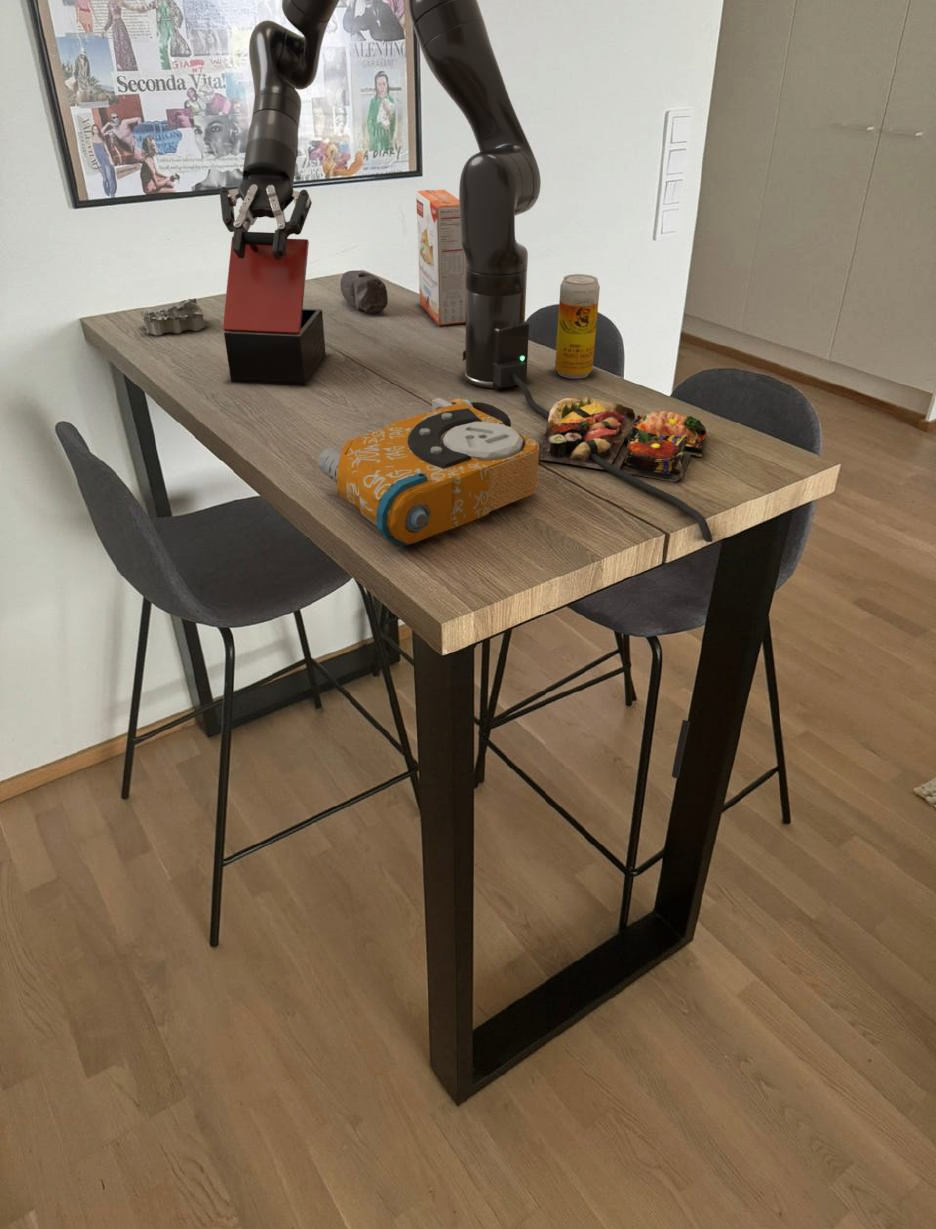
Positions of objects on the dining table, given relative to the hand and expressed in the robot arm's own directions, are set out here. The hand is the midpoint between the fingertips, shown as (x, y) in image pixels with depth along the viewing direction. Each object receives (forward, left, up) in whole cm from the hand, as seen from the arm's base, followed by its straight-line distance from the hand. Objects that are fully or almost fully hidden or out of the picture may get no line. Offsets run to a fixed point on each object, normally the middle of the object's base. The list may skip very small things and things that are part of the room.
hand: (258, 255), depth 133 cm
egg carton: (+33, +2, -19) cm, 38 cm away
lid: (+2, -2, -5) cm, 6 cm away
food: (-52, -26, -19) cm, 61 cm away
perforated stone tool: (+23, -32, -19) cm, 44 cm away
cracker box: (+10, -42, -19) cm, 47 cm away
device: (-47, +2, -19) cm, 51 cm away
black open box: (+3, -3, -19) cm, 19 cm away
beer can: (-28, -40, -19) cm, 52 cm away
